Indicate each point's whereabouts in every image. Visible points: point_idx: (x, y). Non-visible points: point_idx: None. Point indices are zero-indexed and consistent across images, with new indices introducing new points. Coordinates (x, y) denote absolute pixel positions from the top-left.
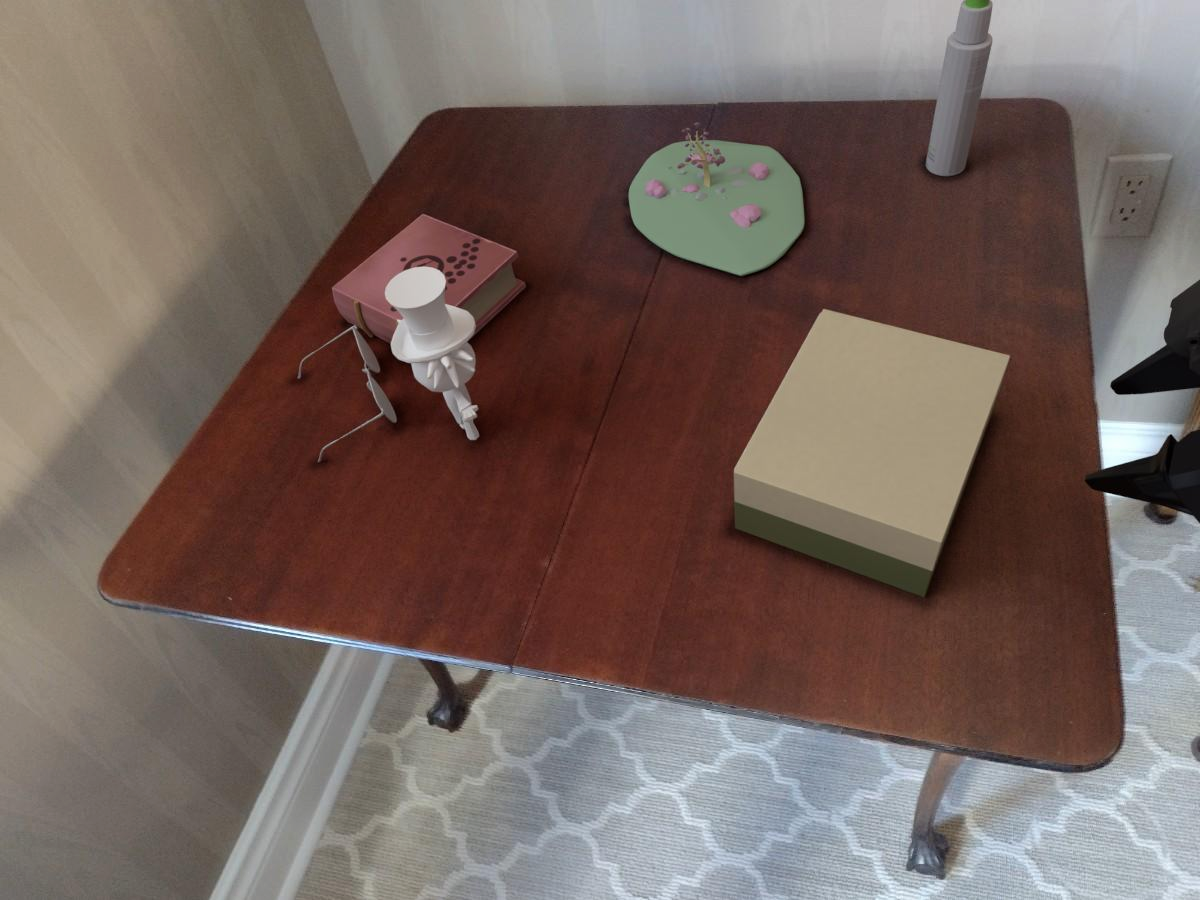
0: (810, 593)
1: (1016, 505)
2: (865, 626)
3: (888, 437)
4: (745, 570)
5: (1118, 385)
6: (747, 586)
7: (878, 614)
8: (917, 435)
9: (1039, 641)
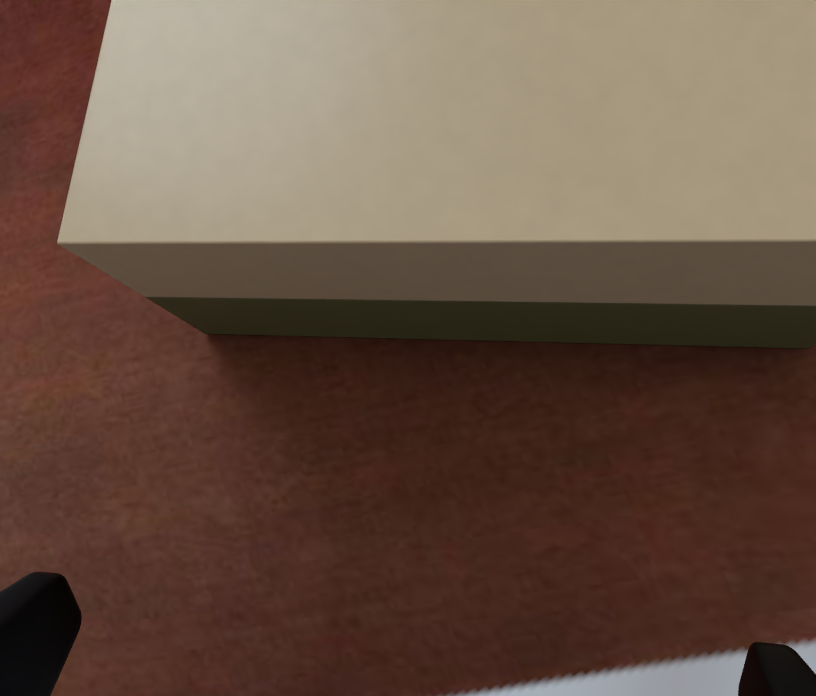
0: None
1: (522, 471)
2: None
3: (384, 10)
4: None
5: (757, 692)
6: None
7: None
8: (418, 74)
9: (163, 581)
